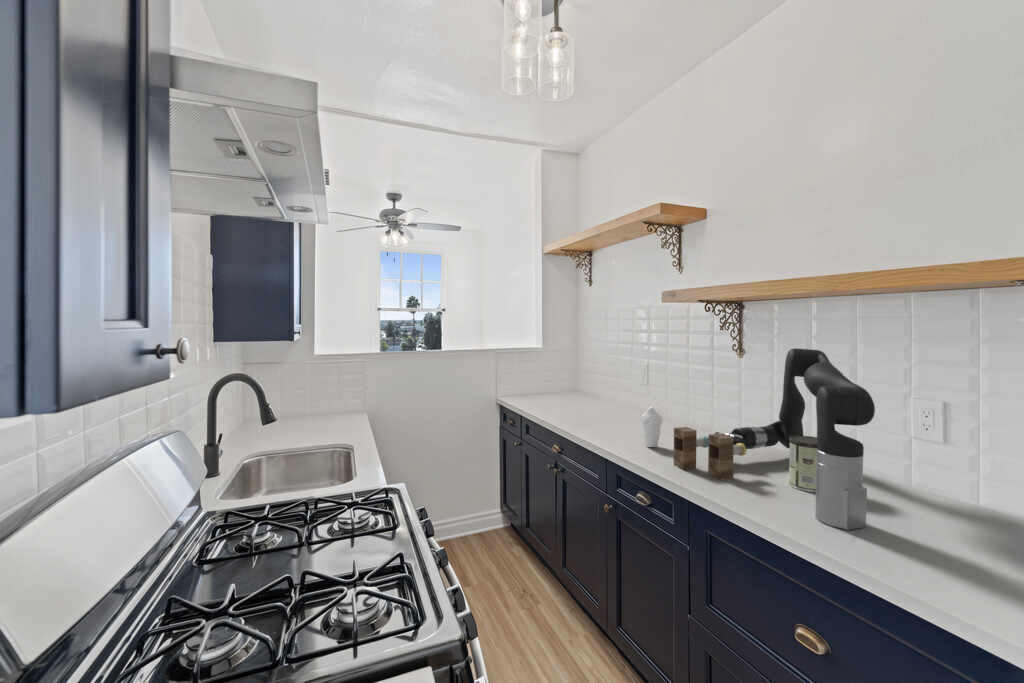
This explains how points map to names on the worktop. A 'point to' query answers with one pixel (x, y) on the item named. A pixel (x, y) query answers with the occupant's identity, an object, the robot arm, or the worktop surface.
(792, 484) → the coffee can
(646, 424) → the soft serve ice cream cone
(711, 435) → the walnut box
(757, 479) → the worktop surface
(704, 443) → the teal button
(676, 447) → the walnut box
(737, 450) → the ochre button
